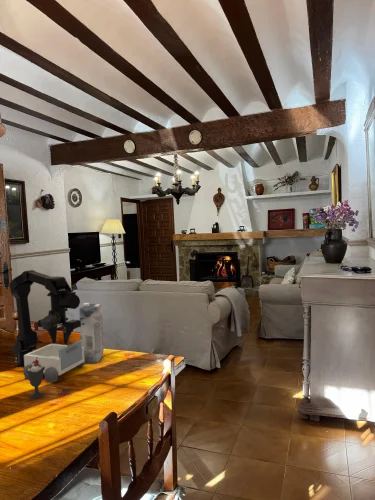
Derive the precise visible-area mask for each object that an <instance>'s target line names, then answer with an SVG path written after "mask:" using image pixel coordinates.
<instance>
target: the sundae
mask: <svg viewBox="0 0 375 500" xmlns="http://www.w3.org/2000/svg"><path fill="white" fill-rule="evenodd" d="M37 358H38V357H37ZM44 369H45V367H44V366H43V365H41V363H40V362H39V361H38V360H37V359H36V360H35V361H33V363H32V364H31V366H30V367H29V368H27V369H26V372H27V373H28V375H29V379H28V380H29V383H30V385H31V387H33V388H34V393H32V394H30V395H29V399H32V400H36V399H40V398H42V397H43V396H45V393H44V392H40V390H39V386H41V384H42V383H43V378H44V377H43V376H44V373H43V370H44Z"/></svg>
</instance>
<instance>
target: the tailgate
mask: <svg viewBox="0 0 375 500" xmlns="http://www.w3.org/2000/svg"><path fill="white" fill-rule="evenodd" d="M59 358H61V370H62V369H64V368H66V367H68V366H70V365H72V364H74V363H76V362H78V361H79V360H81V359H82V346H81V340H77V341H76V342H73V343H71V344H69V345H68V346H66V347H64V348H62V349H60V350H59Z"/></svg>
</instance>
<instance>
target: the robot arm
mask: <svg viewBox="0 0 375 500" xmlns="http://www.w3.org/2000/svg"><path fill="white" fill-rule="evenodd" d="M34 283H35V284H38V285H41V286H43V287H44V288H45V289H46V290H47V291H48V293H47V294H46V296H47V297H50V310H48V315H46V316H44V317H43V318H41V319H38V320H37V328H42V329H43V330H45V331H47V332H48V335H49V337H50V339H51V342H52V344H56V343H57V342H56V341H57V334H58V326H60V327H64V328H62V329H60V331H62V333H63V334H62V335H63V345H67V344H68V342H69V339H70V336H71V335H72V332H73V331H74V330H76V329H78V328H80V327H81V321H80V319H70V320H69V318H68V317H67V316H66V315H67V312H68V311H69V310H71V309H73V310H76V309H78V308H79V307H80V304H81V300H80V299H81V298H80V297H79V296H78V295H77V294H76V293H77V292H76V291H73V290H72V288H71V286H70V284H69V283H68V281H67V280H66V277H65V276H58V275H57V276H51V275H48V274H44V273H42V272H39V271H36V270H33V269H30V270H24V271H23V272H22V273H21V274H19V275H17V276H15V278H13V279H12V280H10V282H9V287H8V288H9V290H10V293H11V296H13V297H14V299H15V303H16V312H17V319H18V320H17V321H18V327H19V330H18V333H17V335H16V337H15V338H16V343H15V344H14V346H13V347H12V352H13V354H15V355H16V358H17V363H15V364H14V366H15V367H20V368H24V355H25V354H28V353H30V352H33V351H35V350H37V345H38V340H39V339H38V333H37V331H34V330H33V328H32V322H31V313H30V306H29V295H30V292H31V290H32V289H31V286H32V285H33V284H34Z"/></svg>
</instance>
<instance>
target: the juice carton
mask: <svg viewBox="0 0 375 500" xmlns="http://www.w3.org/2000/svg"><path fill="white" fill-rule="evenodd" d="M82 305H83V306H81V307H80V308H79V320H80V321H81V327H79V335H80V338H79V339H80V341H81V346H82V347H84V357H85V364H98V363H99V362H100V360H101V359H102V358H103V355H104V330H103V329H104V326H103V311H102V310H103V309H102V303H90V302H84V303H83V304H82Z"/></svg>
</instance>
